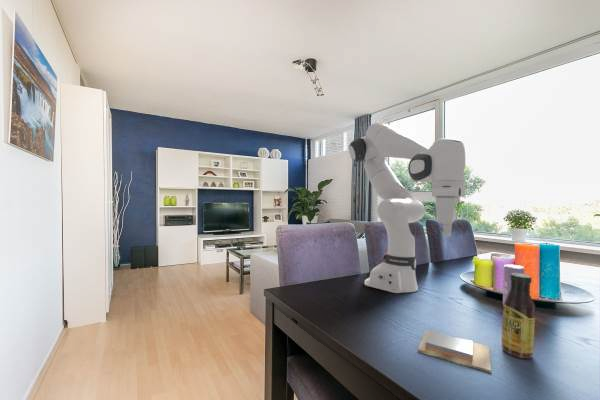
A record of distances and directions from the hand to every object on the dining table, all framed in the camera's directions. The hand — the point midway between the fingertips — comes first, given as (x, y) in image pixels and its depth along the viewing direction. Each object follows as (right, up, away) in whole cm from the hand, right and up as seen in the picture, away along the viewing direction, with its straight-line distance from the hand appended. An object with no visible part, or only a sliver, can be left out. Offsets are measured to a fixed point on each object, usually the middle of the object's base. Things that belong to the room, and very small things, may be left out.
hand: (447, 236), depth 83 cm
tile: (-5, -26, -11) cm, 28 cm away
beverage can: (+32, -28, +15) cm, 45 cm away
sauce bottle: (+10, -28, -15) cm, 33 cm away
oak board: (-6, -27, -14) cm, 31 cm away
